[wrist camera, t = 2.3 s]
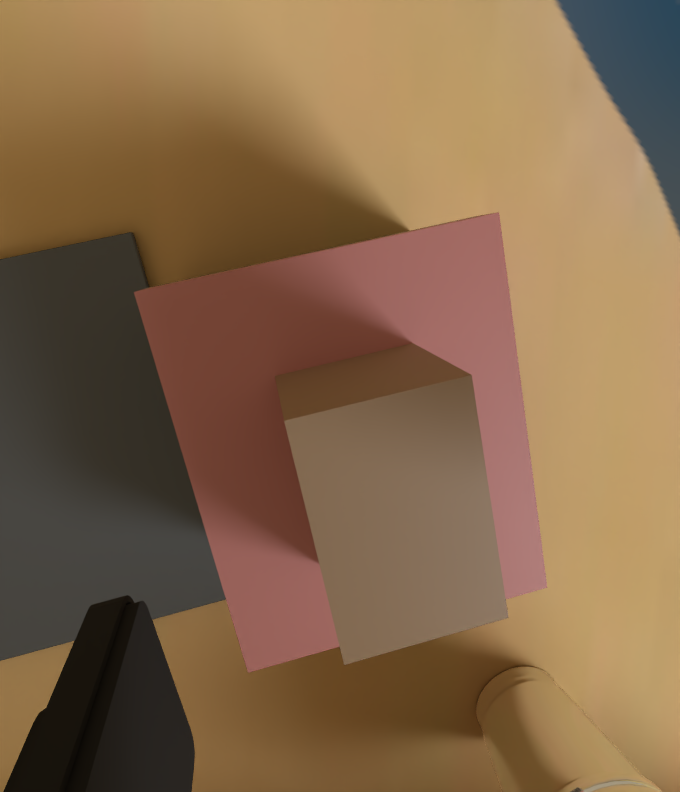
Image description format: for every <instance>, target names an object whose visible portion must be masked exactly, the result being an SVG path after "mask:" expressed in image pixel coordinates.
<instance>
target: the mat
mask: <svg viewBox="0 0 680 792" xmlns="http://www.w3.org/2000/svg"><path fill="white" fill-rule="evenodd" d="M145 288H149V285H148V282H147V278H146V275H145V271H144V268H143V265H142V261H141V258H140V254H139V251H138V248H137V244H136V241H135V237H134V234H133V233H132V232H130V233H125V234H120V235H115V236H111V237H106V238H101V239H96V240H91V241H87V242H82V243H77V244H72V245H67V246H63V247H58V248H53V249H48V250H43V251H39V252H34V253H29V254H24V255H20V256H15V257H10V258H5V259H0V661H1V660H5V659H9V658H12V657H16V656H20V655H23V654H27V653H31V652H34V651H38V650H42V649H45V648H49V647H53V646H56V645H60V644H64V643H67V642H71V641H75V639H76V637H77V634H78V632H79V630H80V627H81V625H82V623H83V620H84V618H85V615H86V613H87V611H88V609H89V607H90V606H91V605H93V604H96V603H100V602H104V601H107V600H111V599H115V598H119V597H122V596H126V595H129V596H130V597H131V598H132V599H133V601H134V603H135V602H139V601H144V602H145V603H146V605H147V607H148V609H149V612H150V615H151V618H152V619H156V618H159V617H163V616H167V615H170V614H174V613H178V612H181V611H185V610H189V609H192V608H196V607H200V606H203V605H207V604H211V603H214V602H218V601H222V600H225V599H226V598H225V594H224V591H223V588H222V584H221V581H220V578H219V574H218V571H217V568H216V564H215V561H214V558H213V554H212V551H211V548H210V544H209V541H208V538H207V534H206V531H205V528H204V524H203V521H202V518H201V514H200V511H199V508H198V504H197V501H196V498H195V494H194V491H193V488H192V484H191V481H190V478H189V474H188V471H187V468H186V464H185V461H184V458H183V454H182V451H181V448H180V444H179V441H178V438H177V434H176V431H175V428H174V424H173V421H172V418H171V414H170V411H169V408H168V404H167V401H166V398H165V394H164V391H163V388H162V384H161V381H160V378H159V374H158V371H157V368H156V364H155V361H154V358H153V354H152V351H151V348H150V344H149V341H148V338H147V334H146V331H145V328H144V324H143V321H142V318H141V314H140V311H139V308H138V304H137V301H136V298H135V294H134V292H136V291H139V290H142V289H145Z"/></svg>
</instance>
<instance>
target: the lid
mask: <svg viewBox="0 0 680 792" xmlns="http://www.w3.org/2000/svg"><path fill="white" fill-rule="evenodd" d="M134 294H135V298H136V301H137V304H138V308H139V311H140V314H141V318H142V321H143V324H144V328H145V331H146V334H147V338H148V341H149V344H150V348H151V351H152V354H153V358H154V361H155V364H156V368H157V371H158V374H159V378H160V381H161V384H162V388H163V391H164V394H165V398H166V401H167V404H168V408H169V411H170V414H171V418H172V421H173V424H174V428H175V431H176V434H177V438H178V441H179V444H180V448H181V451H182V454H183V458H184V461H185V464H186V468H187V471H188V474H189V478H190V481H191V484H192V488H193V491H194V494H195V498H196V501H197V504H198V508H199V511H200V514H201V518H202V521H203V524H204V528H205V531H206V534H207V538H208V541H209V544H210V548H211V551H212V554H213V558H214V561H215V564H216V568H217V571H218V574H219V578H220V581H221V584H222V588H223V591H224V594H225V598H226V601H227V604H228V608H229V611H230V614H231V618H232V621H233V624H234V628H235V631H236V634H237V638H238V641H239V644H240V648H241V651H242V654H243V658H244V661H245V664H246V668H247V671H248V673H249V672H252V671H256V670H259V669H263V668H266V667H270V666H273V665H277V664H280V663H284V662H287V661H291V660H294V659H298V658H301V657H305V656H309V655H312V654H316V653H319V652H323V651H326V650H330V649H333V648H337V647H340V650H341V654H342V658H343V662H344V665H346V664H350V663H353V662H357V661H360V660H364V659H367V658H371V657H374V656H378V655H381V654H384V653H388V652H391V651H395V650H398V649H402V648H405V647H409V646H412V645H416V644H419V643H423V642H426V641H430V640H433V639H436V638H440V637H443V636H447V635H450V634H454V633H457V632H461V631H464V630H468V629H471V628H475V627H478V626H482V625H485V624H488V623H492V622H495V621H499V620H502V619H506V618H508V611H507V605H506V599H508V598H512V597H515V596H519V595H522V594H526V593H529V592H533V591H536V590H540V589H544V588H547V582H546V574H545V567H544V559H543V551H542V543H541V536H540V528H539V520H538V512H537V505H536V497H535V489H534V481H533V473H532V466H531V458H530V450H529V442H528V435H527V427H526V419H525V411H524V403H523V396H522V388H521V380H520V372H519V365H518V357H517V349H516V341H515V333H514V326H513V318H512V310H511V302H510V295H509V287H508V279H507V271H506V263H505V256H504V248H503V240H502V232H501V225H500V217H499V213H493V214H487V215H481V216H477V217H472V218H467V219H463V220H458V221H454V222H449V223H445V224H440V225H435V226H431V227H426V228H422V229H417V230H412V231H408V232H403V233H399V234H394V235H389V236H385V237H380V238H376V239H371V240H367V241H362V242H357V243H353V244H348V245H344V246H339V247H334V248H330V249H325V250H321V251H316V252H312V253H307V254H302V255H298V256H293V257H289V258H284V259H279V260H275V261H270V262H266V263H261V264H257V265H252V266H247V267H243V268H238V269H234V270H229V271H224V272H220V273H215V274H211V275H206V276H201V277H197V278H192V279H188V280H183V281H179V282H174V283H169V284H165V285H160V286H156V287H151V288H146V289H142V290H139V291H136V292H134Z"/></svg>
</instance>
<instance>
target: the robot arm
mask: <svg viewBox="0 0 680 792" xmlns="http://www.w3.org/2000/svg"><path fill="white" fill-rule="evenodd" d="M194 758H195V752H194V741H193V736H192V733H191V729H190V726H189V724H188V721H187V718H186V715H185V712H184V709H183V706H182V704H181V701H180V698H179V695H178V692H177V689H176V686H175V684H174V681H173V678H172V675H171V672H170V669H169V666H168V664H167V661H166V658H165V655H164V652H163V649H162V647H161V644H160V641H159V638H158V635H157V632H156V629H155V627H154V624H153V621H152V618H151V615H150V612H149V609H148V607H147V605H146V603H145V602H144V601H139V602H135V603H134V601H133V599H132V598H131V597H130V596H129V595H126V596H122V597H119V598H115V599H111V600H107V601H104V602H100V603H96V604H93V605H91V606H90V607H89V609H88V611H87V613H86V615H85V618H84V620H83V623H82V625H81V627H80V630H79V632H78V634H77V637H76V639H75V641H74V644H73V646H72V649H71V651H70V653H69V656H68V658H67V660H66V663H65V665H64V667H63V670H62V672H61V674H60V677H59V679H58V682H57V684H56V686H55V689H54V691H53V693H52V696H51V698H50V700H49V703H48V705H47V708H45V709H44V710H43V711H41V712H40V713H39V714H38V716H37V718H36V719H35V721H34V723H33V725H32V727H31V730H30V732H29V734H28V737H27V739H26V741H25V743H24V746H23V748H22V750H21V753H20V755H19V757H18V759H17V762H16V764H15V766H14V769H13V771H12V773H11V775H10V778H9V780H8V782H7V785H6V787H5V789H4V791H3V792H191V791H192V781H193V770H194Z"/></svg>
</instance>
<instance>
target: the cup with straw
mask: <svg viewBox="0 0 680 792" xmlns="http://www.w3.org/2000/svg"><path fill="white" fill-rule="evenodd" d="M476 716H477V720H478V723H479V725H480V726H481V728H482V730H483V737H484V741H485V744H486V747H487V750H488V753H489V756H490V759H491V761H492V764H493V767H494V770H495V773H496V776H497V779H498V782H499V785H500V788H501V791H502V792H662V791H661V790H660V789H659V788H658V787H657V786H656V784H654V783H653V782H651V781H650V780H648V779H647V778H645V777H643V775H642V774H641V773H640V772H639V771H638V770H637V769H636V768H635V767H634V766H633V765H632V764H631V762H630V761H629V760H628V759H627V758H626V757H625V756H624V755H623V754H622V753H621V752H620V751H619V750H618V748H617V747H616V746H615V745H614V744H613V743H612V742H611V741H610V740H609V739H608V738H607V737H606V735H605V734H604V733H603V732H602V731H601V730H600V729H599V728H598V727H597V726H596V725H595V724H594V722H593V721H592V720H591V719H590V718H589V717H588V716H587V715H586V714H585V713H584V712H583V711H582V710H581V708H580V707H579V706H578V705H577V704H576V703H575V702H574V701H573V700H572V699H571V698H570V697H569V695H568V694H567V693H566V692H565V691H564V690H563V689H562V688H560V687H559V686H557V685H556V683H555V682H554V680H553V679H552V677H551V676H550V675H549V674H548V673H546V672H545V671H543V670H541V669H539V668H536V667H530V666H520V667H515V668H511V669H509V670H506V671H504V672H502V673H500V674H498V675H497V676H495V677H494V678H493V679H492V680H490V682H489V683H488V684H487V685H486V686H485V687H484V689H483V690H482V692H481V693H480V696H479V698H478V701H477V706H476Z"/></svg>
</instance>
